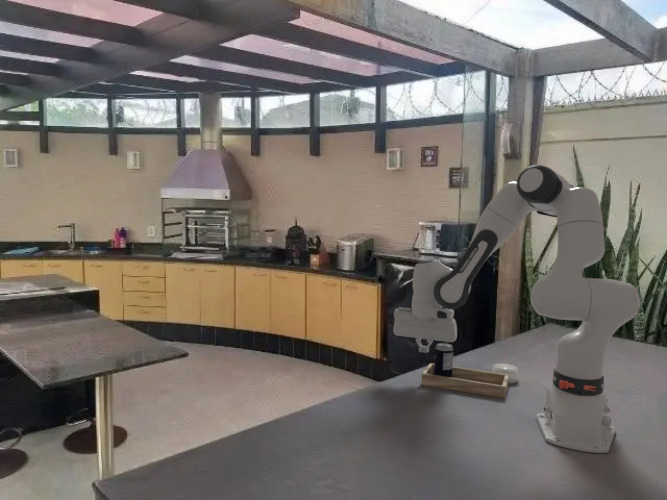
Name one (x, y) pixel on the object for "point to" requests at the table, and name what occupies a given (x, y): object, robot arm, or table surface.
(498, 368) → the soap bar
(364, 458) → the table surface
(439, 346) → the beverage can
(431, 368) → the wooden tray
